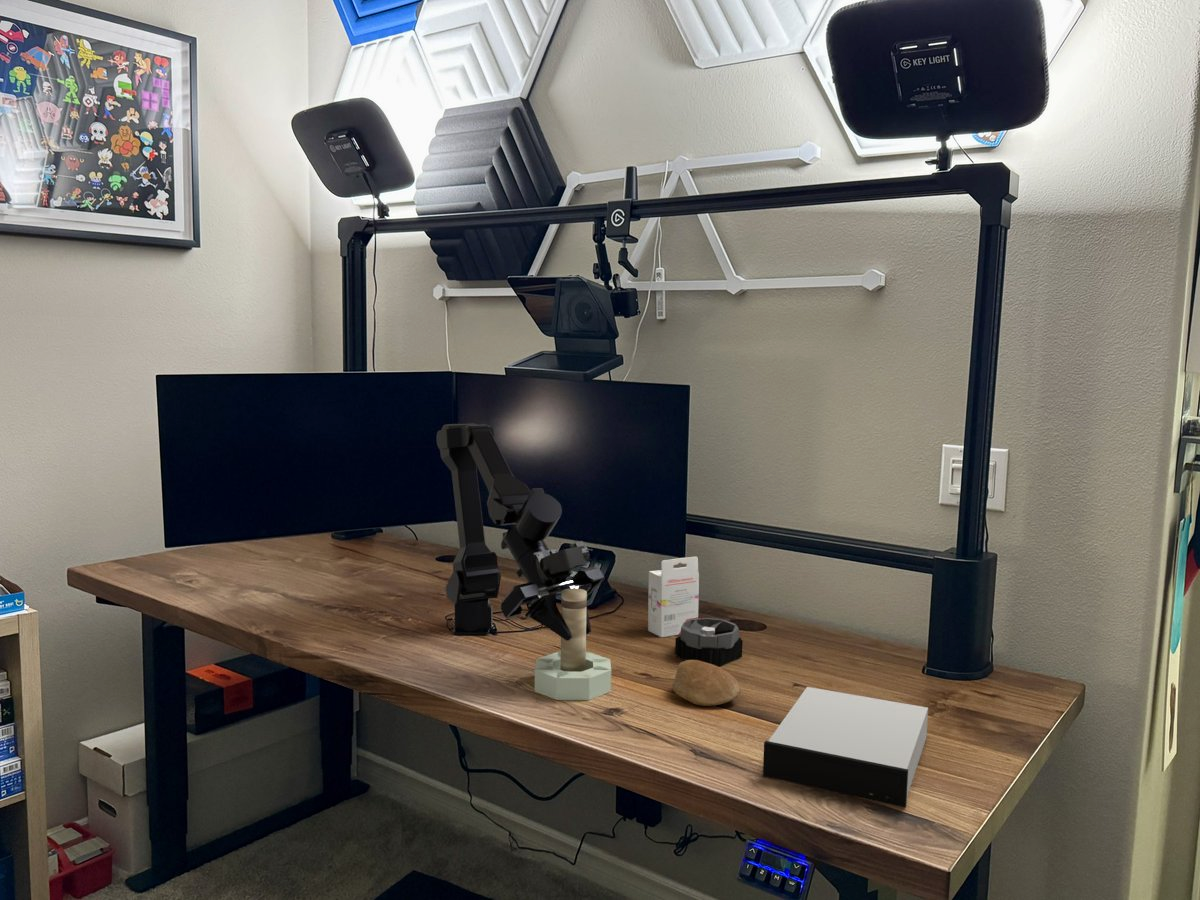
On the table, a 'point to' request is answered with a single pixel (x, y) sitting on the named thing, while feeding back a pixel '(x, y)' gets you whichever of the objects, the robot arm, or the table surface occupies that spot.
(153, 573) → the table surface
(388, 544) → the table surface
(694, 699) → the stone
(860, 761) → the disc drive
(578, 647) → the maple peg
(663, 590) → the ink cartridge box
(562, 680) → the sage ashtray
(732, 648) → the cpu cooler
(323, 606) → the table surface
